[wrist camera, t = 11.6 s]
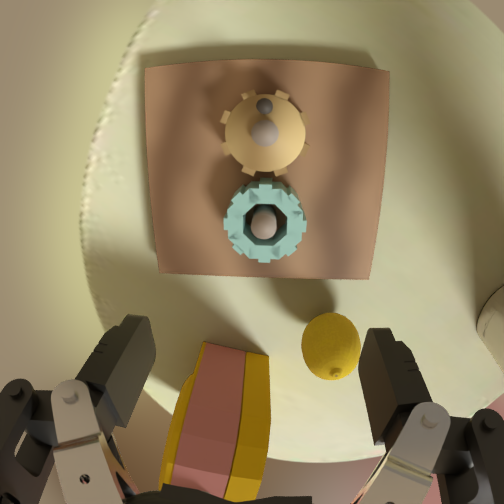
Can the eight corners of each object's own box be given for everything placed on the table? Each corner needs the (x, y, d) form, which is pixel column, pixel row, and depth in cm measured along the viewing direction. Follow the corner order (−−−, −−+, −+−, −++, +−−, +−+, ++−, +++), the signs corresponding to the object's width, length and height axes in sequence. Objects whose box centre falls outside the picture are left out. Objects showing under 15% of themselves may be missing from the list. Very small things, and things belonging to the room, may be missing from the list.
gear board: (381, 74, 21) (412, 63, 15) (363, 269, 28) (382, 308, 22) (153, 71, 22) (119, 60, 16) (165, 263, 30) (142, 299, 24)
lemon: (293, 305, 31) (297, 362, 23) (347, 291, 30) (365, 345, 22) (305, 344, 33) (310, 401, 25) (354, 332, 32) (370, 386, 24)
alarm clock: (199, 328, 33) (151, 482, 16) (272, 345, 33) (267, 504, 16) (186, 405, 39) (156, 520, 22) (244, 417, 39) (231, 535, 23)
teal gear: (305, 178, 23) (308, 186, 21) (301, 250, 26) (303, 263, 24) (227, 177, 24) (222, 184, 21) (229, 248, 26) (225, 261, 24)
